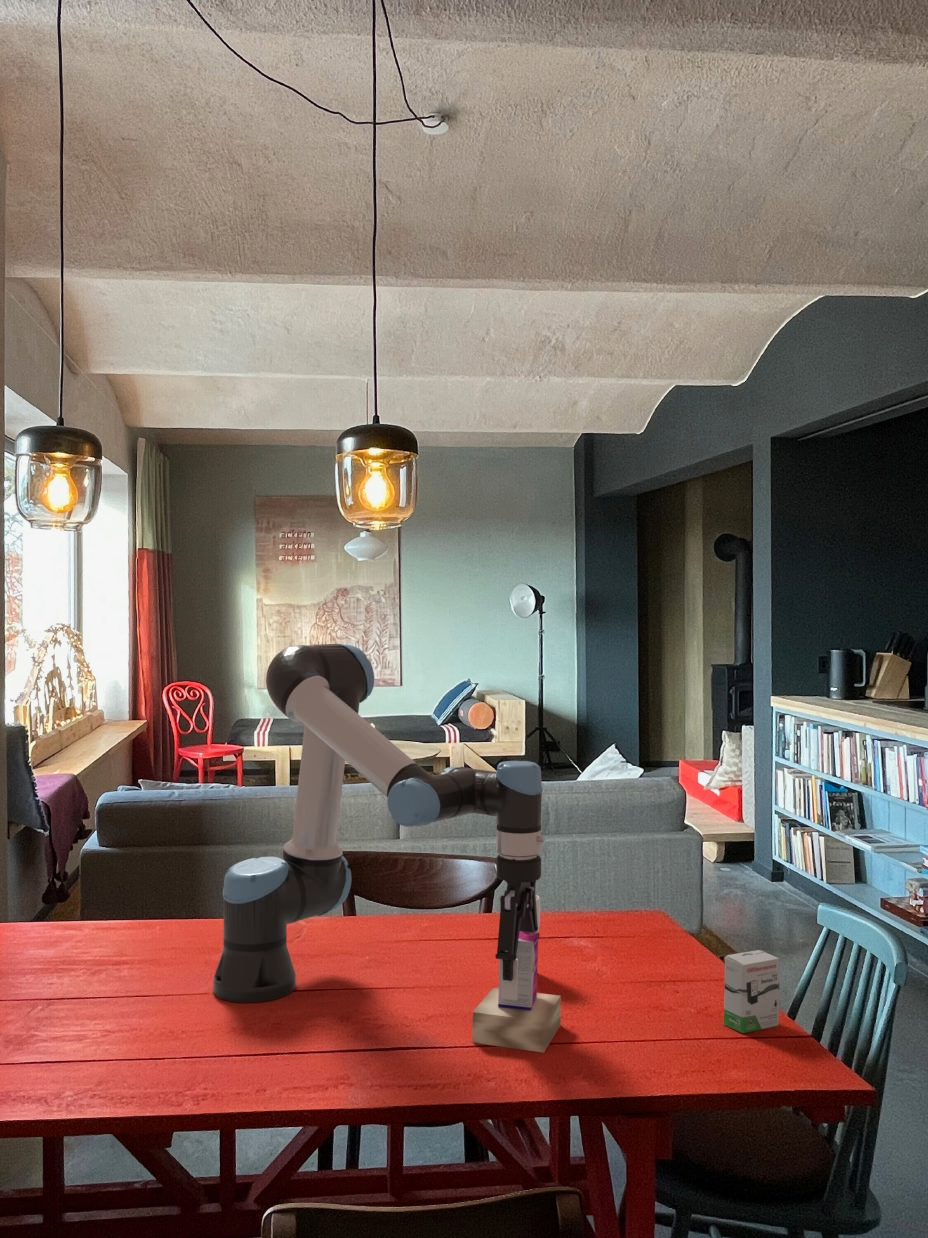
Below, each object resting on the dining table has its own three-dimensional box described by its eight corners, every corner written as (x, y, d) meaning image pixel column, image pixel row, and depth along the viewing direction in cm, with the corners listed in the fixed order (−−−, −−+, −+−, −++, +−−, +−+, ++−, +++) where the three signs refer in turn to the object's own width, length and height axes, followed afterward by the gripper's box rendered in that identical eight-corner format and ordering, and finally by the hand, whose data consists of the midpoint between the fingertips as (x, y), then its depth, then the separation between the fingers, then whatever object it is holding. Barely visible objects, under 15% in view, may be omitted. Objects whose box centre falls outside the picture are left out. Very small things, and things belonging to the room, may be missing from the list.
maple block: (472, 1042, 170) (472, 1012, 170) (493, 1016, 181) (493, 987, 181) (543, 1052, 166) (543, 1021, 166) (560, 1025, 178) (560, 996, 178)
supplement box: (532, 1011, 171) (532, 941, 170) (497, 1008, 172) (497, 939, 172) (538, 998, 176) (538, 931, 176) (504, 995, 178) (504, 928, 178)
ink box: (742, 1035, 174) (742, 964, 174) (722, 1024, 179) (722, 955, 179) (780, 1026, 178) (781, 956, 178) (760, 1016, 183) (760, 948, 183)
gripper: (522, 872, 162) (521, 1014, 162) (556, 842, 183) (555, 969, 183) (477, 868, 164) (476, 1008, 164) (515, 839, 186) (514, 964, 186)
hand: (517, 987), depth 174 cm, fingers open, 10 cm apart
